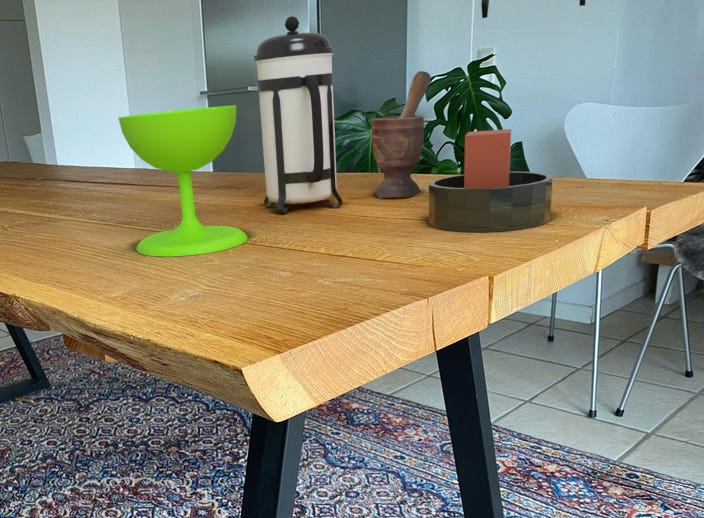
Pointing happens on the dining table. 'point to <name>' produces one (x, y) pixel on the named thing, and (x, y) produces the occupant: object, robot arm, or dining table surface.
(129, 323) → the dining table surface
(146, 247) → the wineglass
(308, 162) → the coffee press
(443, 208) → the bowl
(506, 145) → the block
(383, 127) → the mortar and pestle
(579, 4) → the robot arm
